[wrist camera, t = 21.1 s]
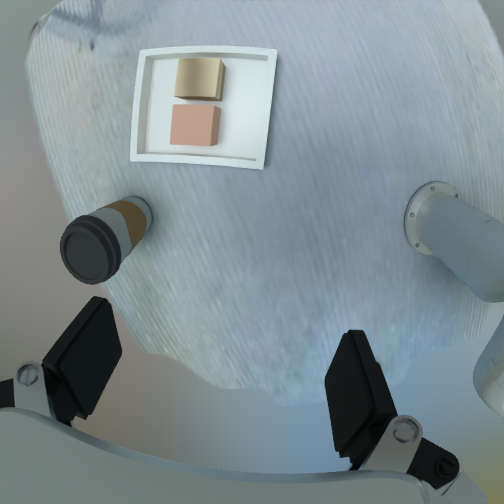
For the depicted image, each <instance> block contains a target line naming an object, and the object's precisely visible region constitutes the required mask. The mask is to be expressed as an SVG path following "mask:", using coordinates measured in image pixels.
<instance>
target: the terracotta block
mask: <svg viewBox="0 0 504 504" xmlns="http://www.w3.org/2000/svg"><path fill="white" fill-rule="evenodd" d="M220 114H221V108H219V107H217V106H215V105H193V104H173V110H172V121H171V133H170V144H172V145H195V146H214V145H217V142H218V132H219V123H220Z"/></svg>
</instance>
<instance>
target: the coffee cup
mask: <svg viewBox="0 0 504 504" xmlns="http://www.w3.org/2000/svg"><path fill="white" fill-rule="evenodd" d="M151 221H152V216H151V211H150V208H149V207H148V205H147V204H146V203H145V202H144V201H143V200H141V199H139V198H137V197H127V198H124V199H122V200H119V201H116V202H114V203H111V204H109V205H107V206H104V207H102V208H100V209H97V210H96V211H94V212H92V213H90V214H88V215H82V216H80V217H78V218H76V219H75V220H74V221H73V222H71V223H70V224H69V225H68V226H67V228H66V230H65V232H64V233H63V235H62V237H61V241H60V253H61V257H62V260H63V262H64V264H65V266H66V268H67V269H68V271H69V272H70V273H71V274H72V275H73V276H74V277H75V278H76V279H78V280H79V281H81V282H83V283H86V284H91V285H94V284H98V283H101V282H105V281H106V280H108V279H110V278H111V276H113V275H115V273H116V272H117V271H118V269H119V267H120V264H121V263H122V262H123V260H124V259H125V258H126V257H127V256H128V255H129V254H130V252H131V251H132V250H133V249H134V247H135V246H136V245H137V244H138V242H139V241H140V240H141V239H142V237H143V236H144V234H145V233H146V232H147V230H148V229H149V228H150V225H151Z"/></svg>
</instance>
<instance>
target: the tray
mask: <svg viewBox="0 0 504 504" xmlns="http://www.w3.org/2000/svg"><path fill="white" fill-rule="evenodd" d="M181 58H220V59H221V60H222V62H223V63H224V65H225V66H226V72H225V80H224V88H223V96H222V101H197V100H183V99H180V98H177V97H174V92H175V83H176V76H177V68H178V61H179V59H181ZM276 58H277V50H276V49H266V48H255V47H241V46H181V47H167V48H156V49H147V50H140V55H139V61H138V68H137V75H136V83H135V92H134V102H133V113H132V127H131V148H130V161H143V162H174V163H193V164H207V165H220V166H231V167H242V168H251V169H260V170H263V168H264V160H265V151H266V143H267V134H268V126H269V118H270V109H271V101H272V92H273V84H274V75H275V67H276ZM173 104H193V105H215V106H217V107H219V108H221V114H220V123H219V132H218V142H217V145H214V146H195V145H172V144H170V133H171V121H172V110H173Z"/></svg>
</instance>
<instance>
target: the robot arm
mask: <svg viewBox="0 0 504 504" xmlns="http://www.w3.org/2000/svg"><path fill="white" fill-rule="evenodd" d="M410 213H411V214H410ZM404 228H405V234H406V237H407V240H408V241H409V243H410V245H411V246H412V247H413V248H414V249H415V250H416V251H418V252H419V253H421V254H423V255H429V256H430V255H435V256H437V257H438V258H439V259H440V260H441V261H442V262H443V263H444V264H445V265H446V266H447V267H448V268H449V269H450V270H451V271H452V272H453V273H455V274H456V275H457V276H458V277H459V278H460V279H461V280H462V281H463V282H464V283H465V284H466V285H467V286H468V287H469V289H470V290H472V291H473V293H474V294H475V295H476V296H478V297H479V298H480V299H482V300H484V301H487V302H493V303H496V302H503V301H504V224H503V223H501V222H499V221H498V220H496V219H494V218H493V217H491V216H489V215H487V214H485V213H484V212H482V211H480V210H478V209H476V208H474V207H472V206H470V205H469V204H467V203H465V202H463V201H462V199H461V197H460V195H459V193H458V192H457V191H456V189H455V188H453V187H452V186H451V185H449V184H446V183H444V182H437V181H435V182H430V183H428V184H426V185H424V186H423V187H421V188H420V189H419V190H418V191H417V192H416V193H415V194H414V196H413V197H412V199H411V200H410V202H409V204H408V207H407V210H406V213H405V220H404ZM121 355H122V348H121V344H120V340H119V336H118V332H117V328H116V324H115V320H114V315H113V310H112V306H111V304H110V303H109V302H108V300H107V299H106V298H101V297H97V296H94V297H92V298H91V299H90V301H89V302H88V303H87V304H86V305H85V307H84V308H83V309H82V310H81V311H80V313H79V314H78V315H77V316H76V317H75V319H74V320H73V321H72V323H71V324H70V325H69V326H68V327H67V329H66V330H65V331H64V332H63V334H62V335H61V336H60V337H59V339H58V340H57V341H56V343H55V344H54V345H53V347H52V348H51V349H50V351H49V352H48V353H47V355H46V356H45V357H44V359H43V360H42V361H43V363H42V364H41V365H40V364H39V363H37V362H34V361H26V362H24V363H22V364H20V365H19V366H18V367H17V368H16V370H15V372H14V376H13V378H12V379H9V380H5V381H1V382H0V504H487V496H486V495H485V493H484V492H483V491H482V490H481V489H480V488H479V487H478V486H477V485H476V484H475V483H474V482H473V481H472V480H471V479H470V478H469V477H468V476H467V475H466V473H464V471H463V472H461V473H460V472H459V462H458V459H457V458H456V456H455V455H453V454H452V453H450V452H448V451H446V450H444V449H443V448H441V447H439V446H437V445H435V444H434V443H432V442H430V441H428V440H426V439H425V438H423V437H422V435H423V432H422V427H421V425H420V423H419V422H418V421H417V420H416V419H415V418H413V417H411V416H408V415H399V416H398V414H397V411H396V408H395V405H394V402H393V399H392V397H391V394H390V391H389V388H388V385H387V383H386V380H385V377H384V374H383V372H382V369H381V367H380V365H379V363H378V362H376V360H375V358H374V355H373V352H372V350H371V347H370V345H369V342H368V340H367V337H366V335H365V332H364V331H363V330H349V331H348V332H347V333H344V334H343V336H342V338H341V341H340V343H339V346H338V348H337V351H336V353H335V355H334V358H333V360H332V362H331V365H330V367H329V369H328V372H327V374H326V376H325V390H326V395H327V401H328V407H329V414H330V420H331V426H332V433H333V440H334V447H335V450H336V452H339V455H340V458H344V457H349V458H350V463H351V465H350V466H349V467H348V469H347V470H346V471H341V472H327V473H307V474H306V473H302V474H274V473H253V472H240V471H231V470H222V469H214V468H208V467H201V466H195V465H190V464H185V463H179V462H175V461H171V460H166V459H162V458H158V457H154V456H150V455H147V454H143V453H140V452H136V451H133V450H130V449H127V448H123V447H120V446H118V445H115V444H112V443H109V442H106V441H103V440H101V439H98V438H96V437H93V436H91V435H88V434H86V433H83V432H81V431H78V430H76V428H75V425H74V421H73V419H74V417H75V416H77V417H80V418H82V419H84V420H86V418H87V416H88V415H91V414H92V413H93V411H94V409H95V407H96V404H97V402H98V400H99V398H100V396H101V394H102V392H103V390H104V388H105V386H106V384H107V382H108V380H109V379H110V376H111V374H112V373H113V371H114V369H115V367H116V365H117V363H118V361H119V359H120V358H121ZM473 384H474V387H475V390H476V392H477V394H478V395H479V397H480V398H481V399H482V401H483V402H484V403H485V404H486V405H487V406H488V407H489V408H490V409H492V410H493V411H494V412H495V413H497V414H498V415H499V416H501V417H502V418H503V419H504V315H503V318H502V320H501V322H500V324H499V325H498V327H497V329H496V330H495V332H494V334H493V336H492V337H491V339H490V341H489V342H488V344H487V345H486V347H485V349H484V350H483V352H482V354H481V355H480V357H479V359H478V361H477V363H476V365H475V368H474V371H473Z"/></svg>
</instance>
